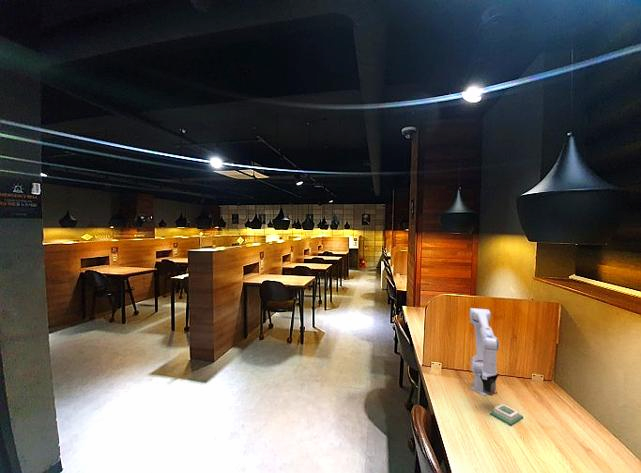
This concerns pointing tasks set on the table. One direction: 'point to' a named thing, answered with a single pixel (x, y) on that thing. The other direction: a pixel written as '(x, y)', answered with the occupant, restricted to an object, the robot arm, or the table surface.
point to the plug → (493, 389)
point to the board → (505, 418)
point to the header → (510, 417)
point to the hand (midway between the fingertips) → (489, 389)
